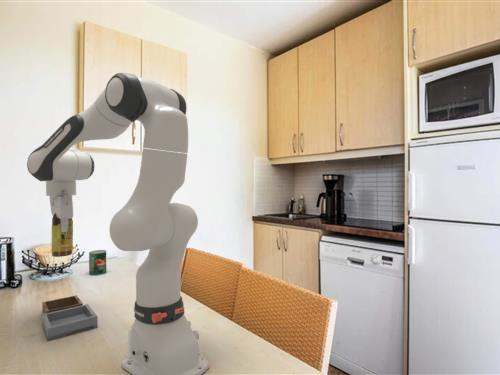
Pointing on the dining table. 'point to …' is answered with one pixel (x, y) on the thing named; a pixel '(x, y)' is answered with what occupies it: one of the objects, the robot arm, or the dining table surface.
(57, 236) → the sauce bottle
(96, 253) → the canned tomato
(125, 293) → the dining table surface
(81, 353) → the dining table surface
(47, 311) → the walnut collar
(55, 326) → the grey tray
